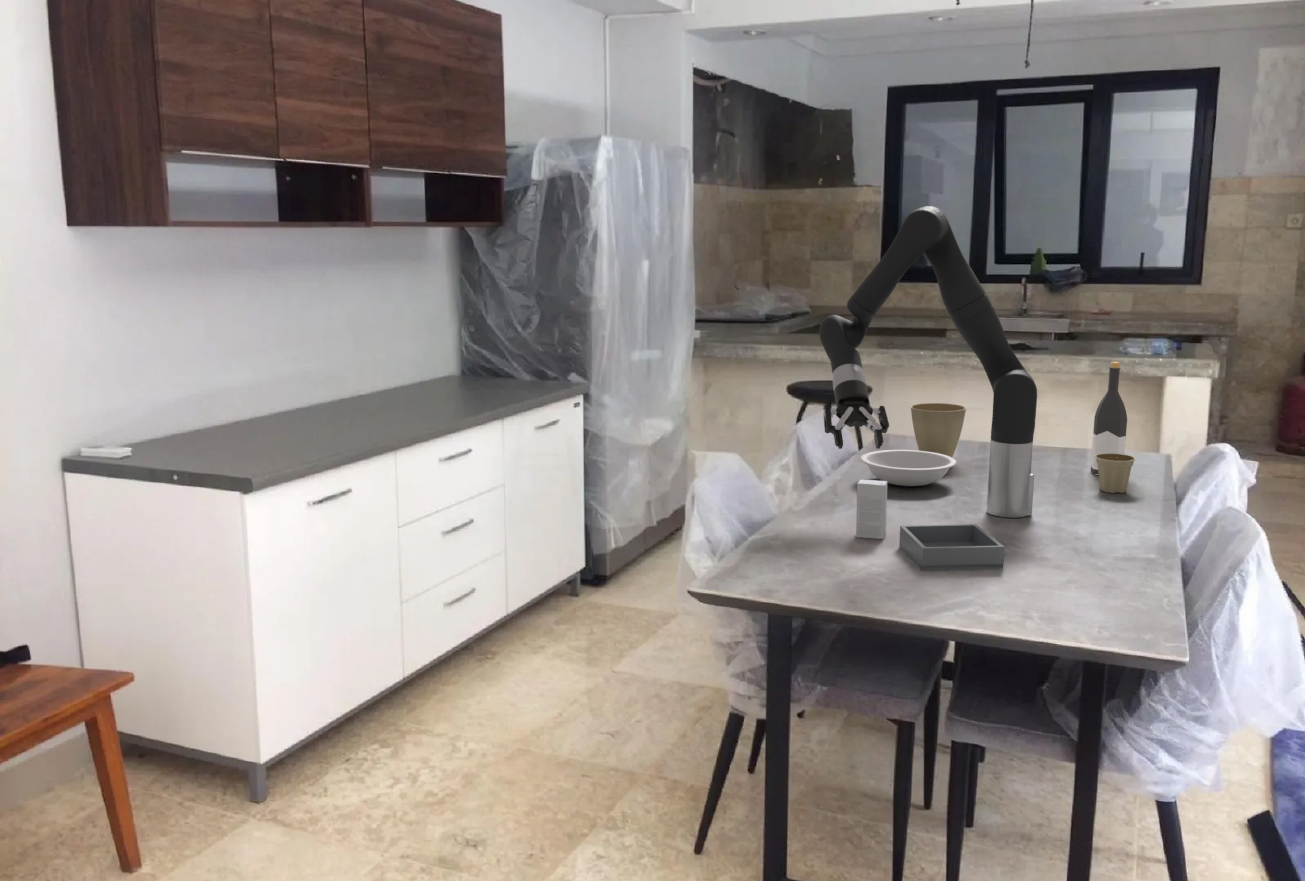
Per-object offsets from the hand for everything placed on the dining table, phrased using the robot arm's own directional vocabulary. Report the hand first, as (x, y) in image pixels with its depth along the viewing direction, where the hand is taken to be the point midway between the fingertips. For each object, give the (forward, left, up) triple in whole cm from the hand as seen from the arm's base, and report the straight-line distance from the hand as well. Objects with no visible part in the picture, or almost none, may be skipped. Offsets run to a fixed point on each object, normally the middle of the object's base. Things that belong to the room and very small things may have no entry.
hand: (860, 446), depth 238 cm
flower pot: (-70, -23, -17) cm, 76 cm away
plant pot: (-36, -58, -17) cm, 71 cm away
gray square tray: (-12, +28, -17) cm, 35 cm away
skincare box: (0, +12, -17) cm, 21 cm away
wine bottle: (-77, -41, -17) cm, 89 cm away
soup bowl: (-21, -34, -18) cm, 44 cm away
